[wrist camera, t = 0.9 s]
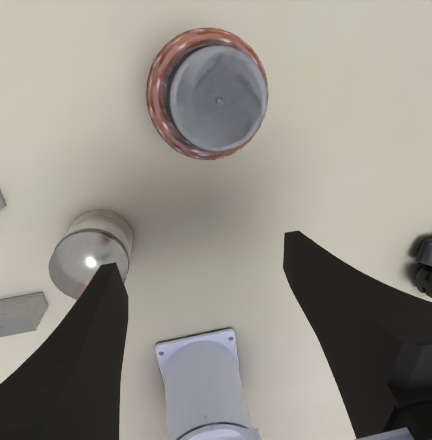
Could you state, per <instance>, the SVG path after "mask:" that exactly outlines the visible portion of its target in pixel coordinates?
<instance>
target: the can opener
mask: <svg viewBox="0 0 432 440" xmlns="http://www.w3.org/2000/svg"><path fill="white" fill-rule="evenodd" d="M416 261H417V262H420V263H422V264H426V265H425V266H423V267H422V268H421V269H420V270H419V271H418V272H417V275H416V284H417V288H418V290H419V291H420V292H422V293H426V295H427V296H429V297H431V298H432V238H428V239H426V240H424V241H423V243H422V245H421V248H420V250H419V252H418V254H417V257H416Z"/></svg>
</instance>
